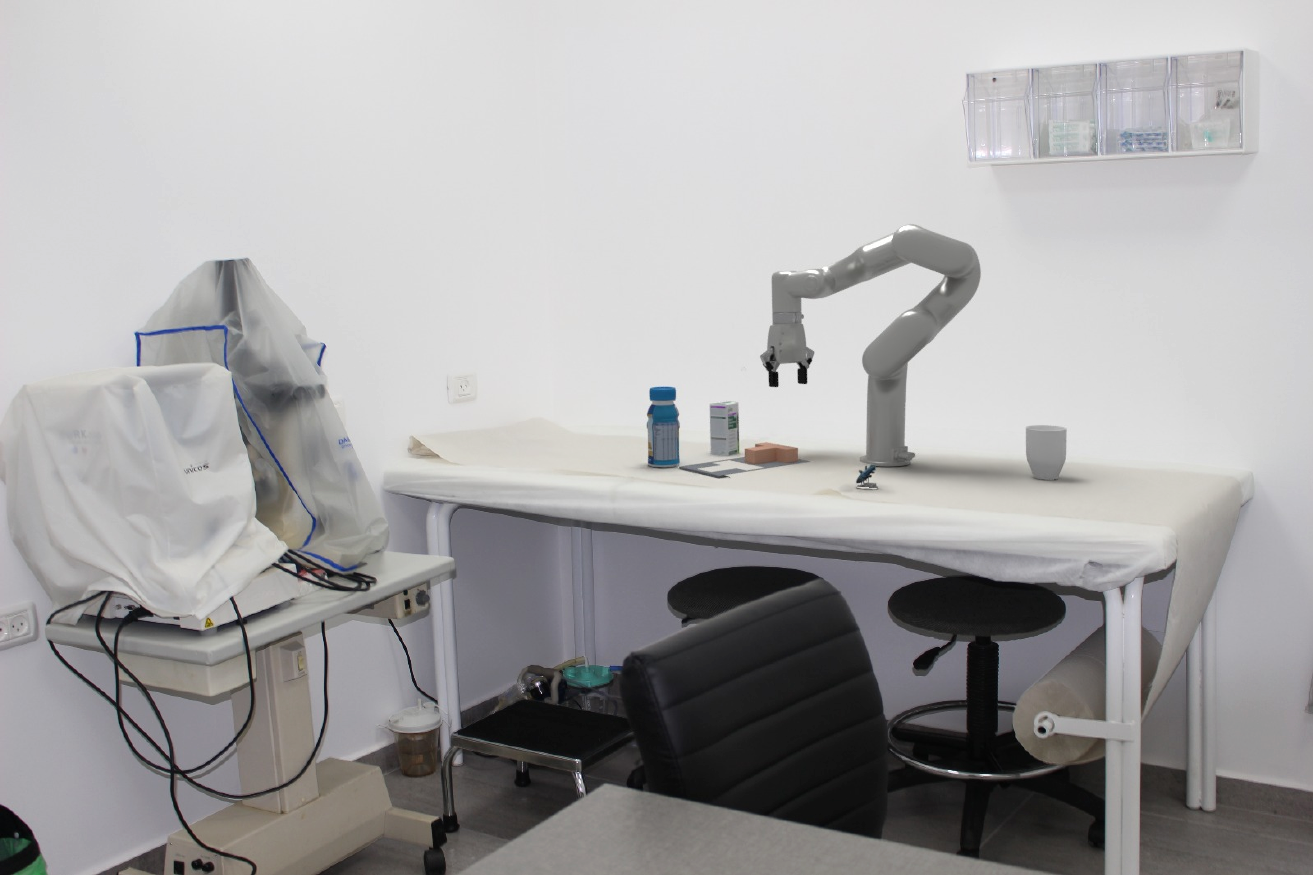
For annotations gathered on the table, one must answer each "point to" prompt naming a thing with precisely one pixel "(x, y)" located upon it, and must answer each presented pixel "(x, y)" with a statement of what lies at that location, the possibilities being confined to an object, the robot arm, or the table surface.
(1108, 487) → the table surface
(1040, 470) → the mug
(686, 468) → the mat
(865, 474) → the sculpture
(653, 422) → the beverage bottle
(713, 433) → the syrup box
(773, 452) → the tee
